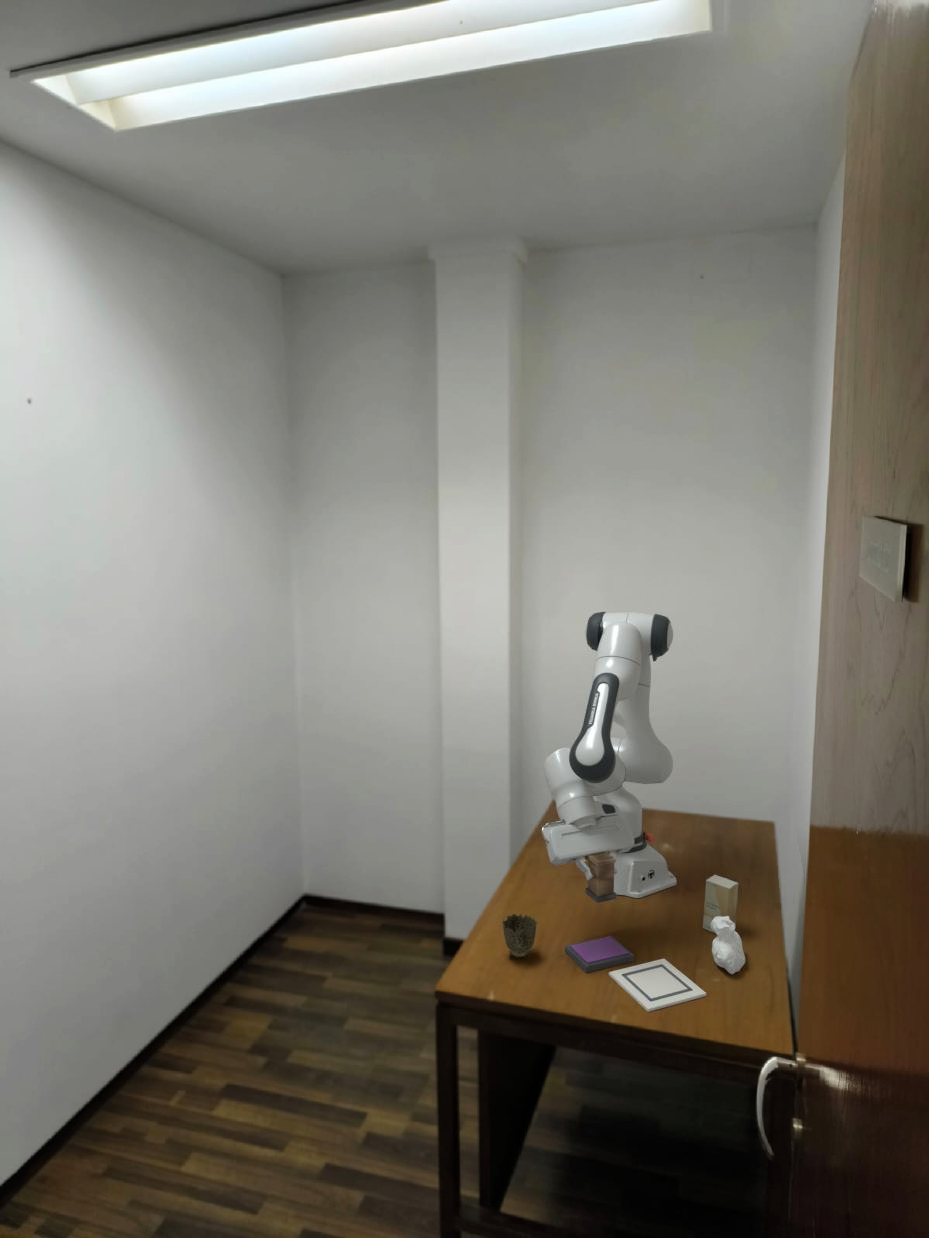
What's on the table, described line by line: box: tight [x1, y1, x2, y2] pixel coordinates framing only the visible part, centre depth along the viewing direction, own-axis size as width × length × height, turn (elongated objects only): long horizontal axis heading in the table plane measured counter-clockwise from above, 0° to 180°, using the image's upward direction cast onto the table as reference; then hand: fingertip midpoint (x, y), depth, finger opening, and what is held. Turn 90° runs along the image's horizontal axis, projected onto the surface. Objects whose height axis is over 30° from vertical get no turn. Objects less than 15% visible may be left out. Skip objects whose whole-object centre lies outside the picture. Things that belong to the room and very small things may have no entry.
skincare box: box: [702, 874, 740, 935], centre depth 188 cm, size 6×4×12 cm
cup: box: [502, 913, 538, 960], centre depth 178 cm, size 8×7×8 cm
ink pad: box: [564, 935, 635, 974], centre depth 178 cm, size 12×9×2 cm
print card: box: [608, 958, 707, 1013], centre depth 167 cm, size 14×14×1 cm
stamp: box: [585, 852, 617, 904], centre depth 176 cm, size 5×5×9 cm
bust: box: [711, 916, 746, 975], centre depth 175 cm, size 12×8×11 cm
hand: (602, 876), depth 175 cm, fingers closed on stamp, 4 cm apart
